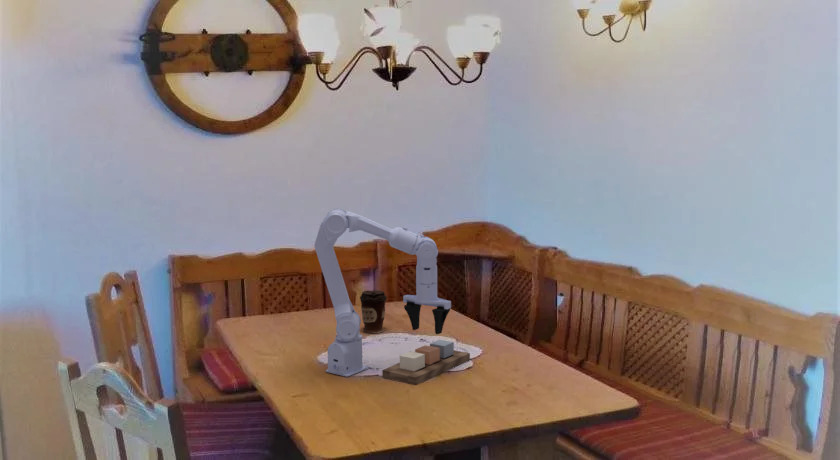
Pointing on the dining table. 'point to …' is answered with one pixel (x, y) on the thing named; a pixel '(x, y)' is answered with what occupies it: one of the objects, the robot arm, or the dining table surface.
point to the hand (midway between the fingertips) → (427, 331)
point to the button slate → (444, 347)
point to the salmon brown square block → (429, 353)
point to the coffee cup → (373, 310)
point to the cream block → (412, 361)
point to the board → (425, 369)
